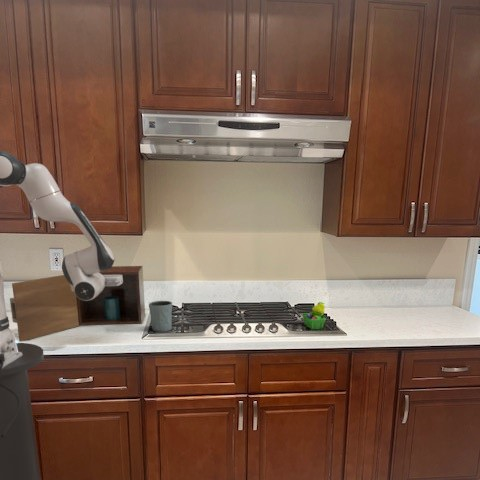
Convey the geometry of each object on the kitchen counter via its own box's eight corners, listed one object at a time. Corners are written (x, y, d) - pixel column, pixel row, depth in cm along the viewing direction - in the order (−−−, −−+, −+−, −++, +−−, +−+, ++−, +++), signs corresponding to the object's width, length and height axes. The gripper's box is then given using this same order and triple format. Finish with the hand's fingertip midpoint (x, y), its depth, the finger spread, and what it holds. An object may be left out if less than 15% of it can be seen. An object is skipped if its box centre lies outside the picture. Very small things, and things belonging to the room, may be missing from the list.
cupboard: (141, 323, 216) (138, 271, 210) (78, 325, 213) (73, 272, 207) (145, 314, 233) (142, 265, 227) (87, 315, 231) (82, 266, 224)
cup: (119, 320, 218) (117, 299, 216) (104, 320, 218) (102, 299, 215) (121, 316, 225) (119, 296, 222) (106, 316, 224) (105, 296, 222)
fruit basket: (300, 324, 216) (301, 300, 213) (318, 322, 218) (319, 299, 215) (310, 330, 205) (311, 305, 202) (328, 329, 207) (330, 304, 204)
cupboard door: (11, 338, 193) (3, 281, 187) (69, 323, 216) (64, 272, 210) (20, 341, 190) (13, 283, 183) (79, 325, 212) (74, 273, 206)
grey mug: (177, 329, 208) (176, 302, 205) (159, 333, 201) (158, 306, 197) (163, 324, 214) (161, 299, 211) (145, 329, 207) (143, 303, 204)
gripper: (120, 274, 181) (124, 269, 194) (65, 275, 179) (74, 269, 192) (121, 290, 182) (125, 284, 196) (67, 291, 180) (75, 284, 194)
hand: (100, 277), depth 194 cm, fingers open, 8 cm apart
